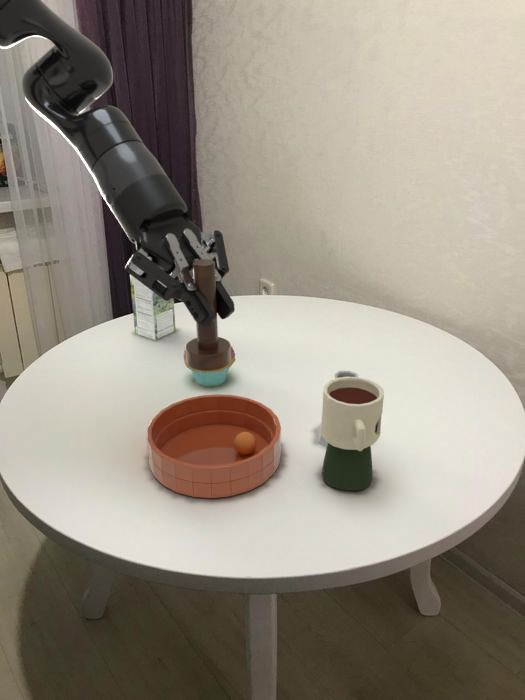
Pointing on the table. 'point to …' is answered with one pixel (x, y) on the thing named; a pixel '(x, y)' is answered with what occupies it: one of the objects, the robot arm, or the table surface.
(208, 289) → the brown peg stand
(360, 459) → the character mug
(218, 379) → the cupcake
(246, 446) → the ball
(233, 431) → the bowl
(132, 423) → the table surface
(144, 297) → the syrup box
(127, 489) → the table surface
